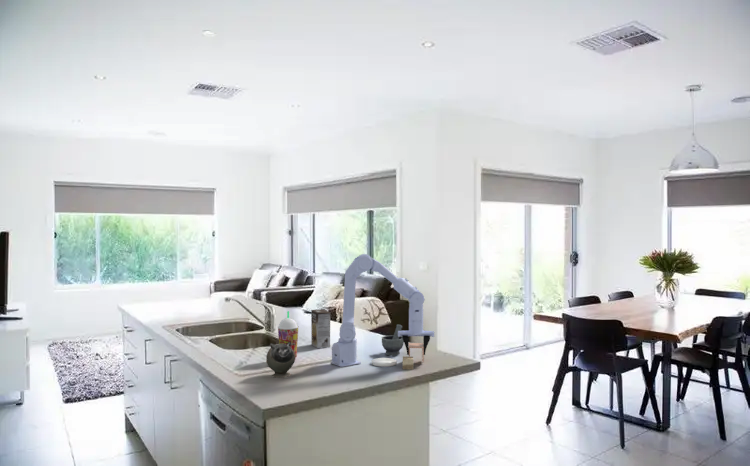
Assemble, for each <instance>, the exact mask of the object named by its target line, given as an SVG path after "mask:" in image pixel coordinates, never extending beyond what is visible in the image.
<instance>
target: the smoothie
mask: <svg viewBox="0 0 750 466" xmlns="http://www.w3.org/2000/svg"><path fill="white" fill-rule="evenodd" d="M286 313H287V314H286V315H287V317H285V318H284V319H282V320H281V321H280V322H279V324H278V326H277V332H278V337H277V338H278V344H287V343H288V342H291V346H290V347H291V348H292V349H293V351H294V354H295V359H296V358H297V356H298V355H297V354H298V343H299V342H298V337H299V325H298V323H297V321H296V320H295V319H294V318H291V317H290V311H288V310H287V312H286Z"/></svg>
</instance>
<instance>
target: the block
mask: <svg viewBox="0 0 750 466" xmlns="http://www.w3.org/2000/svg"><path fill="white" fill-rule="evenodd" d="M402 370H414V356H410V357H409V356H404V355H403V356H402Z"/></svg>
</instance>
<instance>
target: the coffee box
mask: <svg viewBox="0 0 750 466" xmlns="http://www.w3.org/2000/svg"><path fill="white" fill-rule="evenodd" d="M310 311H311V313H310V315H311V316H310V317H311V319H310V320H311V327H310V328H311V331H310V332H311V345H312V346H313V347H315V348H316V349H324V348H323V347H328V348H331V311H328V310H327V309H311V310H310Z"/></svg>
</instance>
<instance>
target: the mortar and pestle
mask: <svg viewBox="0 0 750 466" xmlns="http://www.w3.org/2000/svg"><path fill="white" fill-rule="evenodd" d="M395 327H396V328H395V330H394V333H393V335H385V336H381V345H382V348H383V349H384V350H385V355H387V356H400V354H401V353H400V351H401V349H403V346H404V344H405V343H404V341H403V339H402V336H398V331H402V329H403V325H401V324H396V326H395Z"/></svg>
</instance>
